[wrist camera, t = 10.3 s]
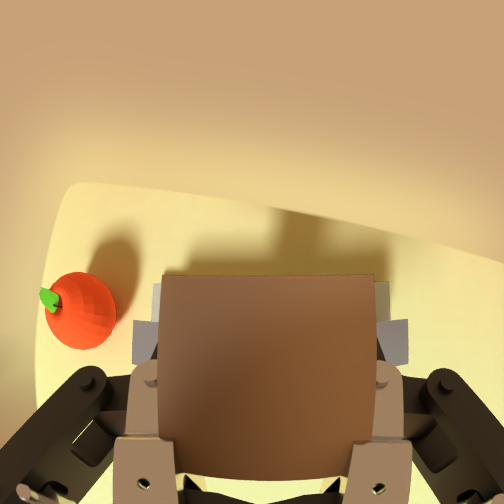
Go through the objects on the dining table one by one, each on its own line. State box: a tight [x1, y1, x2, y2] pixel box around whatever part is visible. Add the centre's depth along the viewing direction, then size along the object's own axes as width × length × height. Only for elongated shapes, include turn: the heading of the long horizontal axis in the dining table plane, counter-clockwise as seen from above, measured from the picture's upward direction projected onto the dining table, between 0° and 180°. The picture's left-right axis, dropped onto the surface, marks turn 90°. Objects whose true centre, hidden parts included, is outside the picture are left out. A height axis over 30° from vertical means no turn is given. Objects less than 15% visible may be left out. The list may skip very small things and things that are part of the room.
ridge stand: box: [132, 282, 408, 366], centre depth 19 cm, size 20×10×6 cm, turn 89°
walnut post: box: [157, 274, 377, 481], centre depth 9 cm, size 4×4×10 cm
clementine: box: [39, 272, 116, 350], centre depth 20 cm, size 8×7×7 cm
